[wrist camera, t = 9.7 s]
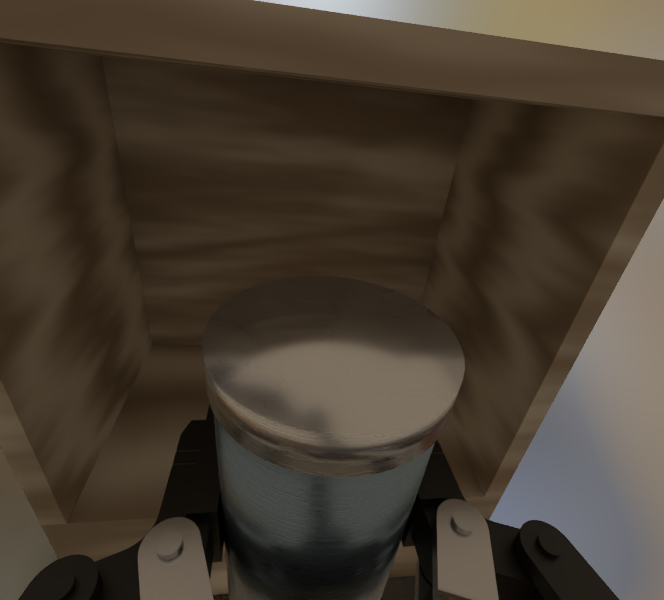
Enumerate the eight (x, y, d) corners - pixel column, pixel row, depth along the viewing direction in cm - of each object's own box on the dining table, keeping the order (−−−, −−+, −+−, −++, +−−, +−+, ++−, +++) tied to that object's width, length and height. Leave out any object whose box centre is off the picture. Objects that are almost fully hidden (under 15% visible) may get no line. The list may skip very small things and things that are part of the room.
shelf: (471, 579, 23) (766, 75, 10) (69, 619, 20) (-342, -87, 6) (403, 402, 36) (489, 78, 23) (152, 407, 32) (76, 26, 19)
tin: (297, 761, 10) (349, 506, 4) (198, 602, 13) (150, 320, 7) (400, 602, 14) (506, 341, 8) (304, 504, 17) (329, 259, 11)
